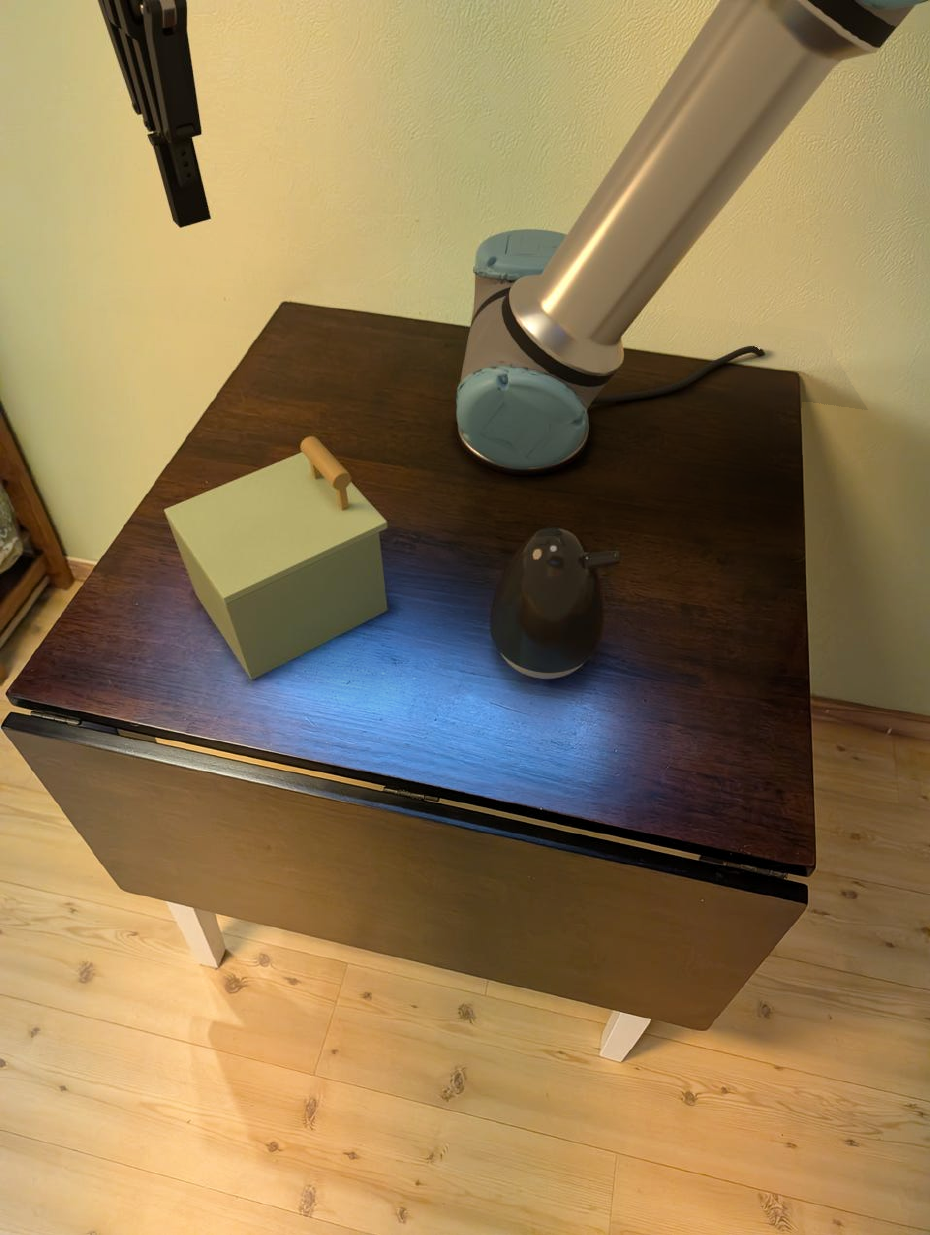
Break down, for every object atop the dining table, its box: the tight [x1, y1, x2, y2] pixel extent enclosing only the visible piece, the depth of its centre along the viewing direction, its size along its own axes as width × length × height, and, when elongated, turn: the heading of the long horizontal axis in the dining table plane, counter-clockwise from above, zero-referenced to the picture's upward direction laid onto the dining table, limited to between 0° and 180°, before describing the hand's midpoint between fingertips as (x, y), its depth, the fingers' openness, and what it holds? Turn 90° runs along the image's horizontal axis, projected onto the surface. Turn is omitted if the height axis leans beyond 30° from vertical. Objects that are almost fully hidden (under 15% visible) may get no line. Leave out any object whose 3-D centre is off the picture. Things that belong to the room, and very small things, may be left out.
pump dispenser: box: [489, 526, 621, 680], centre depth 73 cm, size 10×10×15 cm
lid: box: [163, 435, 388, 604], centre depth 73 cm, size 16×13×5 cm
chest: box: [166, 517, 388, 681], centre depth 79 cm, size 15×13×11 cm
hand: (192, 219), depth 69 cm, fingers closed
